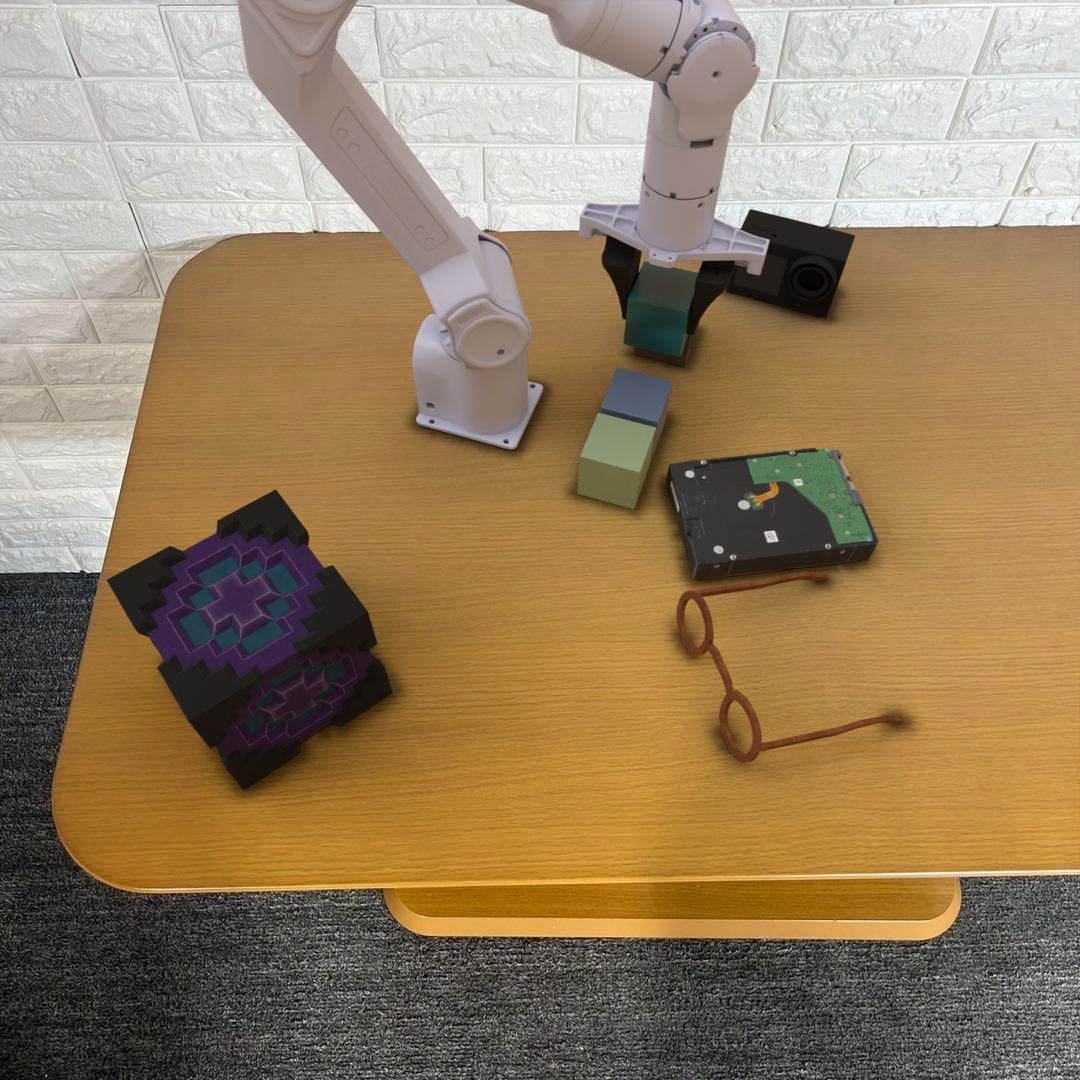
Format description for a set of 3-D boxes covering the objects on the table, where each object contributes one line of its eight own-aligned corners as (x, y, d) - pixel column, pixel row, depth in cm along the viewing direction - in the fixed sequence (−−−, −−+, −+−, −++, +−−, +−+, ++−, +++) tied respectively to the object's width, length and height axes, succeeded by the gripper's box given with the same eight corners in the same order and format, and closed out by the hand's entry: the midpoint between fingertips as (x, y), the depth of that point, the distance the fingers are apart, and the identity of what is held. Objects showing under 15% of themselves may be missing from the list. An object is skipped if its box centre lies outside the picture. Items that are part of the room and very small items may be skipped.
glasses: (670, 615, 69) (679, 581, 65) (824, 576, 71) (842, 541, 67) (737, 775, 62) (751, 748, 58) (905, 726, 64) (931, 697, 60)
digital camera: (720, 298, 90) (733, 240, 84) (735, 265, 93) (749, 206, 87) (823, 326, 88) (844, 268, 82) (835, 292, 90) (856, 233, 85)
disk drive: (692, 585, 71) (872, 561, 72) (697, 566, 69) (883, 541, 70) (663, 483, 77) (829, 461, 78) (666, 462, 75) (838, 440, 76)
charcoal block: (633, 354, 85) (638, 314, 81) (647, 320, 88) (652, 279, 84) (684, 367, 84) (692, 326, 80) (697, 332, 87) (705, 291, 83)
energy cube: (169, 664, 67) (106, 579, 57) (311, 581, 71) (275, 488, 61) (243, 790, 61) (188, 721, 52) (392, 693, 66) (368, 611, 56)
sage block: (577, 494, 76) (579, 456, 72) (594, 451, 79) (597, 412, 74) (634, 509, 75) (640, 472, 71) (649, 465, 78) (656, 427, 74)
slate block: (596, 446, 79) (600, 407, 75) (612, 406, 82) (616, 366, 77) (651, 460, 78) (658, 422, 74) (665, 419, 81) (673, 380, 77)
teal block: (622, 344, 77) (628, 298, 73) (638, 306, 79) (643, 260, 75) (680, 357, 76) (688, 312, 72) (693, 319, 79) (702, 273, 74)
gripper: (569, 188, 64) (564, 331, 76) (770, 229, 62) (734, 371, 73) (597, 134, 68) (588, 278, 79) (788, 171, 66) (751, 314, 77)
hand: (659, 319), depth 76 cm, fingers closed on teal block, 5 cm apart
